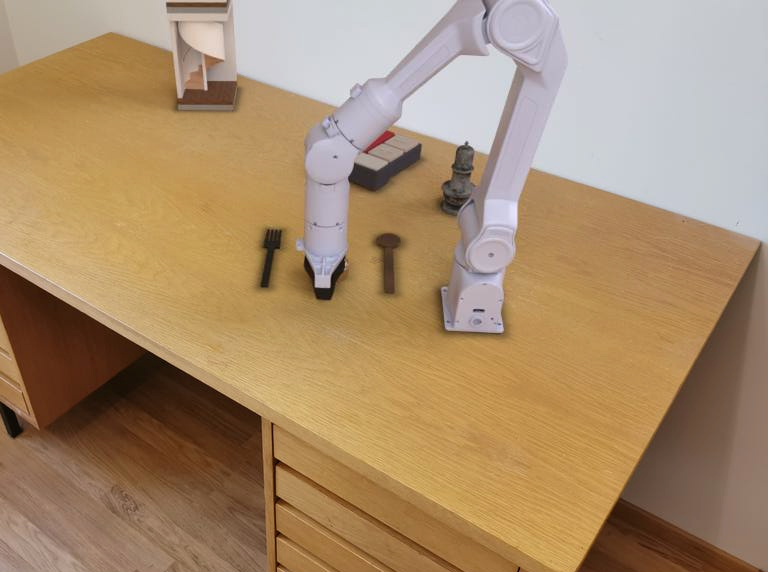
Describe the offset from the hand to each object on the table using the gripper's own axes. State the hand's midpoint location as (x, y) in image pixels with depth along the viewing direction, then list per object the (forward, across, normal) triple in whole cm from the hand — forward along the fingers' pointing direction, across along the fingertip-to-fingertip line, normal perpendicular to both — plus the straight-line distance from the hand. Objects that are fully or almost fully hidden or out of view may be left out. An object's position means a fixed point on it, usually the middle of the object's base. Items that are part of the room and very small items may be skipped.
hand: (323, 297), depth 107 cm
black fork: (+2, -11, -9) cm, 14 cm away
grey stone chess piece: (+2, -28, +21) cm, 35 cm away
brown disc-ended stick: (+2, -11, +10) cm, 15 cm away
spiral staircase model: (+2, -67, -28) cm, 73 cm away
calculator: (+2, -41, +7) cm, 42 cm away
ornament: (+2, -7, 0) cm, 7 cm away
